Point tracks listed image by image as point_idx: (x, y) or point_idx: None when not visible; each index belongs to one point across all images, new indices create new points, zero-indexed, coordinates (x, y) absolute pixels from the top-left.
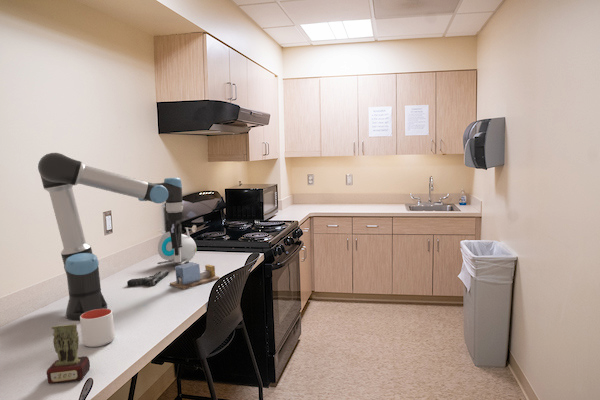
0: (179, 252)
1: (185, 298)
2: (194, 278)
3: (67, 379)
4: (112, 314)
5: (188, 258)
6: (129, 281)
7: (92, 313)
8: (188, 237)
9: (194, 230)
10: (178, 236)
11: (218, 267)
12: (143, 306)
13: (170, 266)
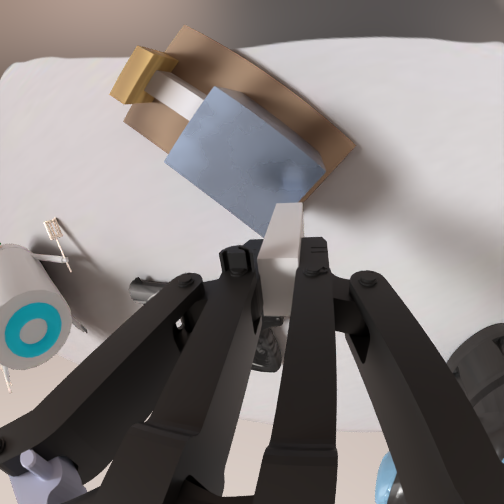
0: (299, 239)
1: (468, 114)
2: (266, 112)
3: None
4: None
5: (28, 254)
6: (275, 368)
7: None
8: None
9: None
10: (285, 392)
11: (46, 122)
12: (500, 248)
13: (70, 292)
